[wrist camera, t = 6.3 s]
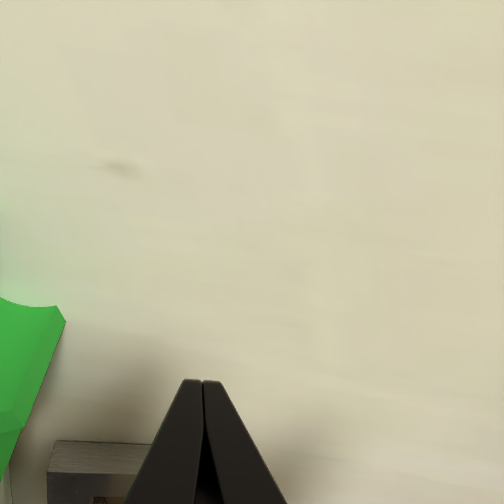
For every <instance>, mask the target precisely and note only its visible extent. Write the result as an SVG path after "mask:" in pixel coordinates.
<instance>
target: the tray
mask: <svg viewBox="0 0 504 504" xmlns="http://www.w3.org/2000/svg"><path fill="white" fill-rule="evenodd" d="M0 504H12V496H11V486H10V476H9V466H8V465H7V467H6V470H5V473H4V475H3V478H2V480H1V483H0Z"/></svg>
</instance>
